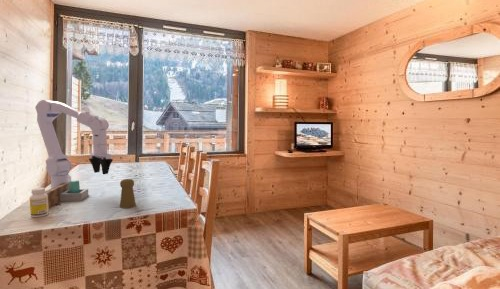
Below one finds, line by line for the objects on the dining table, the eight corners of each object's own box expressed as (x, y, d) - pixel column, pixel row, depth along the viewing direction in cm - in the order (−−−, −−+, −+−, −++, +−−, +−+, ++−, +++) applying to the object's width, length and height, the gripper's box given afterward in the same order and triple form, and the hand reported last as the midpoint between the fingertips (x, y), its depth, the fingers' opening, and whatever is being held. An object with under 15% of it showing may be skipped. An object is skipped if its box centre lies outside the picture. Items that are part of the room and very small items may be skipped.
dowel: (76, 195, 133) (75, 180, 133) (82, 196, 131) (81, 180, 131) (68, 197, 130) (66, 181, 129) (73, 198, 128) (72, 182, 127)
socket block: (68, 197, 134) (67, 189, 134) (88, 196, 136) (88, 188, 135) (60, 202, 126) (59, 194, 125) (81, 201, 127) (81, 193, 127)
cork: (130, 208, 115) (129, 181, 114) (116, 207, 116) (115, 180, 115) (138, 204, 121) (138, 178, 120) (125, 203, 122) (125, 177, 121)
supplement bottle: (36, 213, 109) (35, 187, 108) (52, 212, 109) (50, 187, 109) (27, 217, 104) (25, 190, 103) (43, 217, 104) (41, 190, 103)
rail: (63, 195, 135) (62, 182, 135) (69, 195, 136) (68, 182, 135) (39, 209, 114) (39, 194, 113) (47, 209, 114) (46, 193, 114)
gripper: (83, 144, 137) (84, 172, 139) (99, 145, 129) (100, 176, 130) (98, 143, 143) (99, 170, 144) (114, 144, 135) (115, 173, 136)
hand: (101, 173), depth 138 cm, fingers open, 7 cm apart
